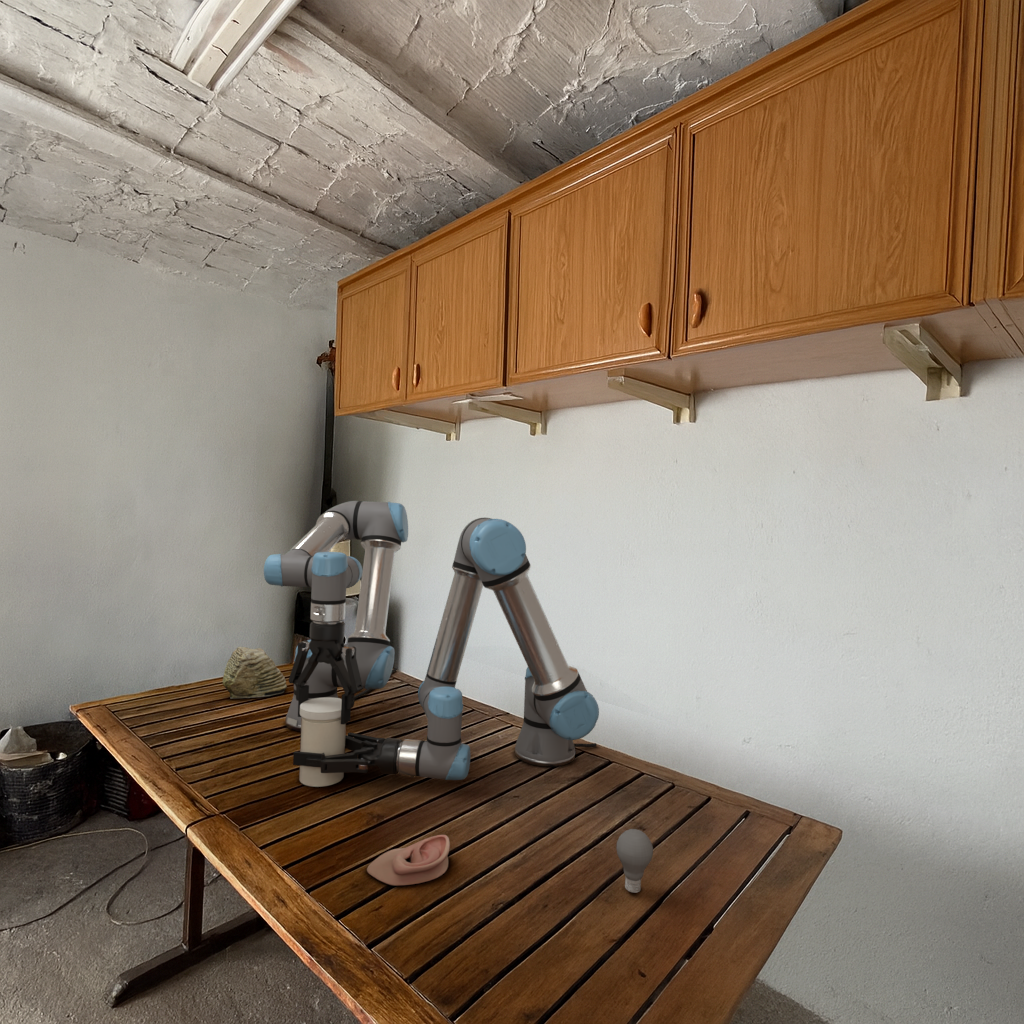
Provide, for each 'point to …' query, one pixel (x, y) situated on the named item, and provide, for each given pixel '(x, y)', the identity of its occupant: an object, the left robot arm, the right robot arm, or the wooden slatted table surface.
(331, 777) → the jar
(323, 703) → the lid
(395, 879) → the anatomical model
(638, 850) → the light bulb
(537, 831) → the wooden slatted table surface
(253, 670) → the fossil
